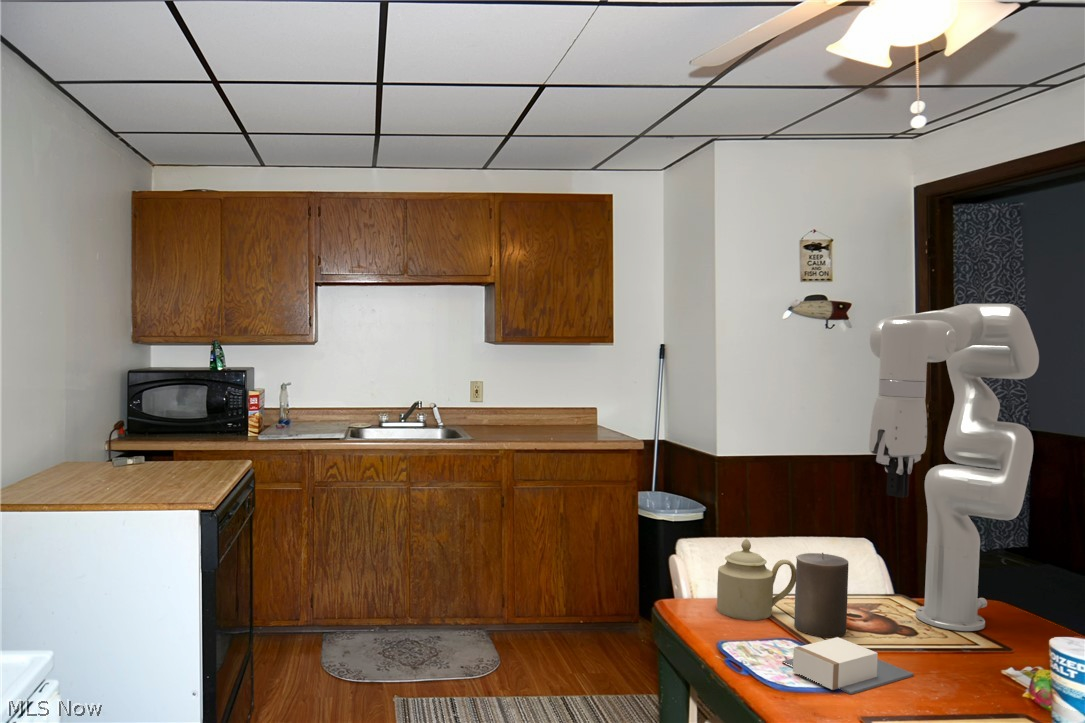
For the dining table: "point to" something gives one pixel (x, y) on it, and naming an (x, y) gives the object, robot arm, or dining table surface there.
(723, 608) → the sugar bowl
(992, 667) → the dining table surface
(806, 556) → the pillar candle
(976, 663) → the dining table surface
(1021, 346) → the robot arm
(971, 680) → the dining table surface
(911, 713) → the dining table surface
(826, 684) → the slab
